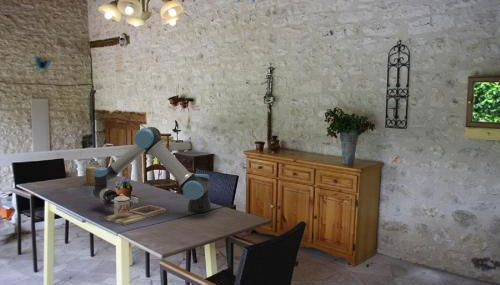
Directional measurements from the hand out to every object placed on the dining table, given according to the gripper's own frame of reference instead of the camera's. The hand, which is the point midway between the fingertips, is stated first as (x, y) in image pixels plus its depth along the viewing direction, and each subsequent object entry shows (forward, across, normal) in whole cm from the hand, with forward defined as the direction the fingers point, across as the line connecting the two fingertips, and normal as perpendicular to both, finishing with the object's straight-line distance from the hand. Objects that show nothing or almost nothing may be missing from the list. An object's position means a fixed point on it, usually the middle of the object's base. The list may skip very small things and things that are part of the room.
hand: (127, 202), depth 238 cm
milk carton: (-103, -33, -11) cm, 108 cm away
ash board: (-4, 0, -11) cm, 11 cm away
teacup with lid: (-4, 0, -7) cm, 8 cm away
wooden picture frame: (-7, -17, -10) cm, 21 cm away
